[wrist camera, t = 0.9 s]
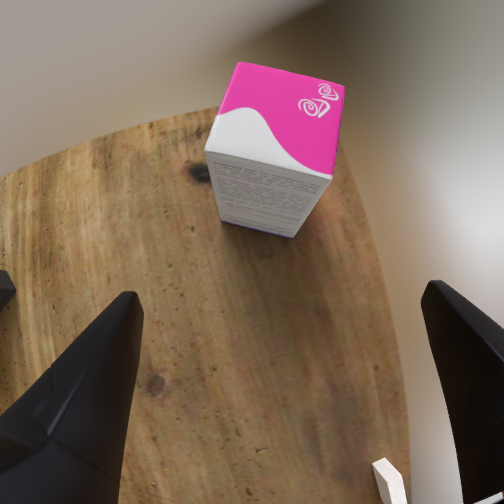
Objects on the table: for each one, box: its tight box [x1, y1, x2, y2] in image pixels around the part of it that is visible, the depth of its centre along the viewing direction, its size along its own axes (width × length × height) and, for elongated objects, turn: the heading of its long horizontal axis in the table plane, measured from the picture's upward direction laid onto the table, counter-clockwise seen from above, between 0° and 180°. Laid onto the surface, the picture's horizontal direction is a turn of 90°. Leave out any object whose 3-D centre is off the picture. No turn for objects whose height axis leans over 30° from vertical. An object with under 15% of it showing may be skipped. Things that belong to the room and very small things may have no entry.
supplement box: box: [204, 62, 345, 239], centre depth 19 cm, size 6×6×12 cm
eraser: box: [372, 457, 407, 504], centre depth 19 cm, size 1×5×4 cm, turn 19°
